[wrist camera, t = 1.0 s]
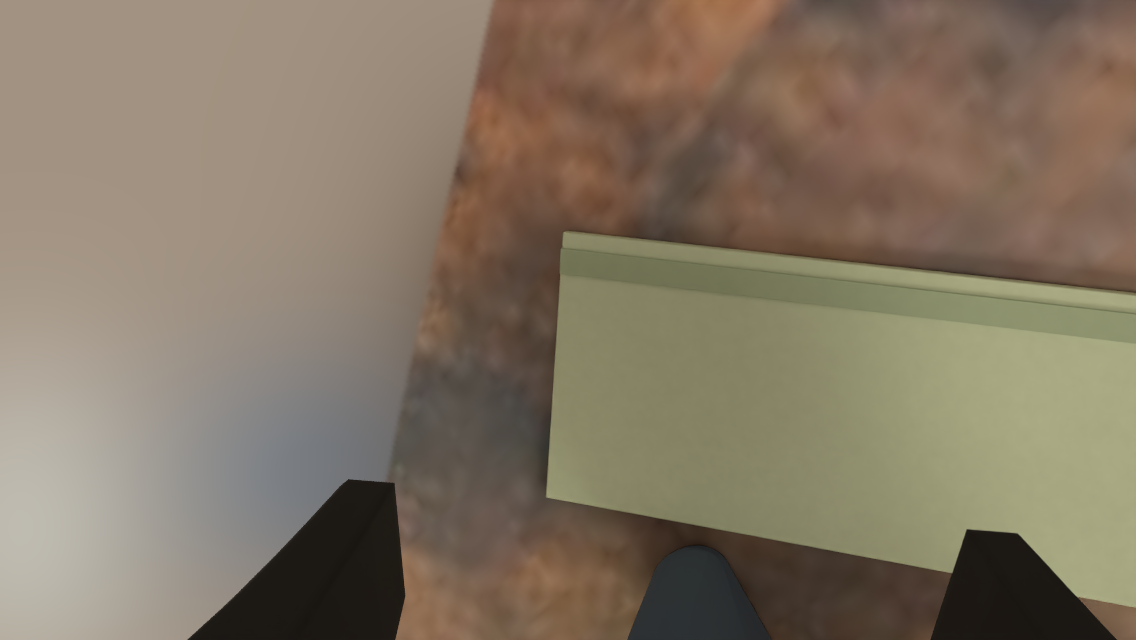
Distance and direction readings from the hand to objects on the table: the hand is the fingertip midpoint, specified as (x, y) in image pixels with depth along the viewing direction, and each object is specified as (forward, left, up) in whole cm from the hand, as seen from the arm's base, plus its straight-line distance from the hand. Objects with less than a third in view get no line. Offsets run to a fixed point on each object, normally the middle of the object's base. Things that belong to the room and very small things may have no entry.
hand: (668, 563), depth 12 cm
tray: (-3, -3, -17) cm, 17 cm away
